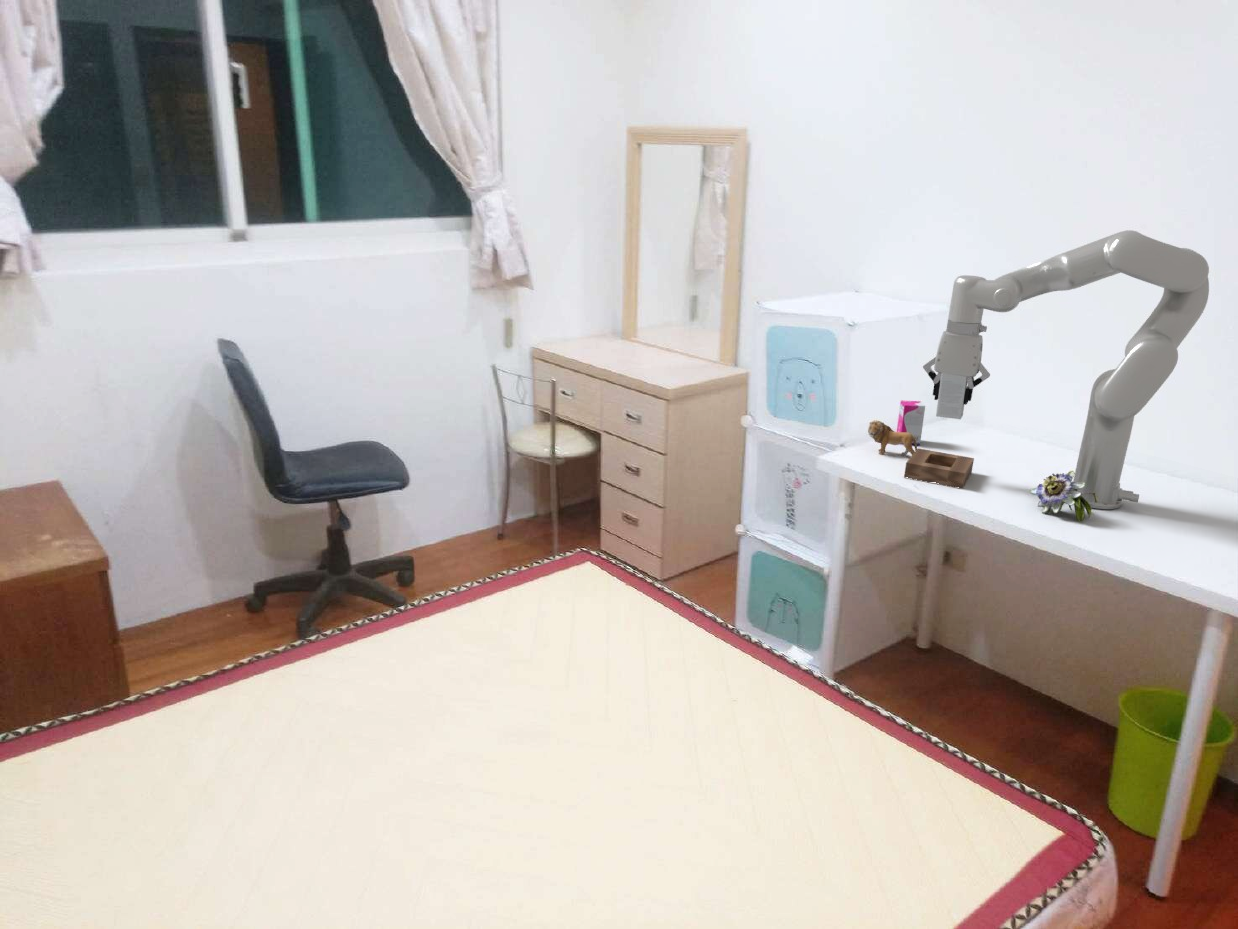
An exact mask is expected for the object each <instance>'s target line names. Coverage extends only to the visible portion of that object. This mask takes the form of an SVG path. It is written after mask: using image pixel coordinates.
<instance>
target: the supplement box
mask: <svg viewBox="0 0 1238 929" xmlns="http://www.w3.org/2000/svg"><path fill="white" fill-rule="evenodd" d="M899 404H900V405H899V410H898V418H897V426H896V432H907V433H910V434H912V435H913V436H914V438H915V440H916V444H917V446H921V440H922V433H923V427H924V418H925V411H926V405H925V404H924V403H923V402H922V401H919V400H902V399H901V400H900V403H899ZM901 445H904V444H903V443H902V444H901ZM912 446H914V442H913V441H912Z"/></svg>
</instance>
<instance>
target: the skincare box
mask: <svg viewBox="0 0 1238 929" xmlns="http://www.w3.org/2000/svg"><path fill="white" fill-rule="evenodd" d="M967 386H968V384H967V377H966V376H960V375H953V374H947V373H941V381H940V388H939V396H938V400H937V405H936V406H937V407H936V411H935V412H936V415H935V417H939V418H946V419H947V418H949V419H955V420H962V417H963V415H964V409H965V404H963V402H964V396H965V390H966V388H967Z"/></svg>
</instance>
